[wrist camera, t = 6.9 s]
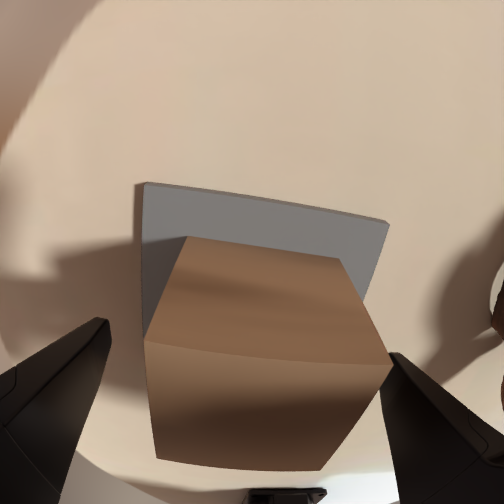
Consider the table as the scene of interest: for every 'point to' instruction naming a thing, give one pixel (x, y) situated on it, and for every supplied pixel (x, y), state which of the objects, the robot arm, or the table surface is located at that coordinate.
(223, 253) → the walnut block
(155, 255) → the felt coaster
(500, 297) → the pottery mug
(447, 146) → the table surface
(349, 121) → the table surface
